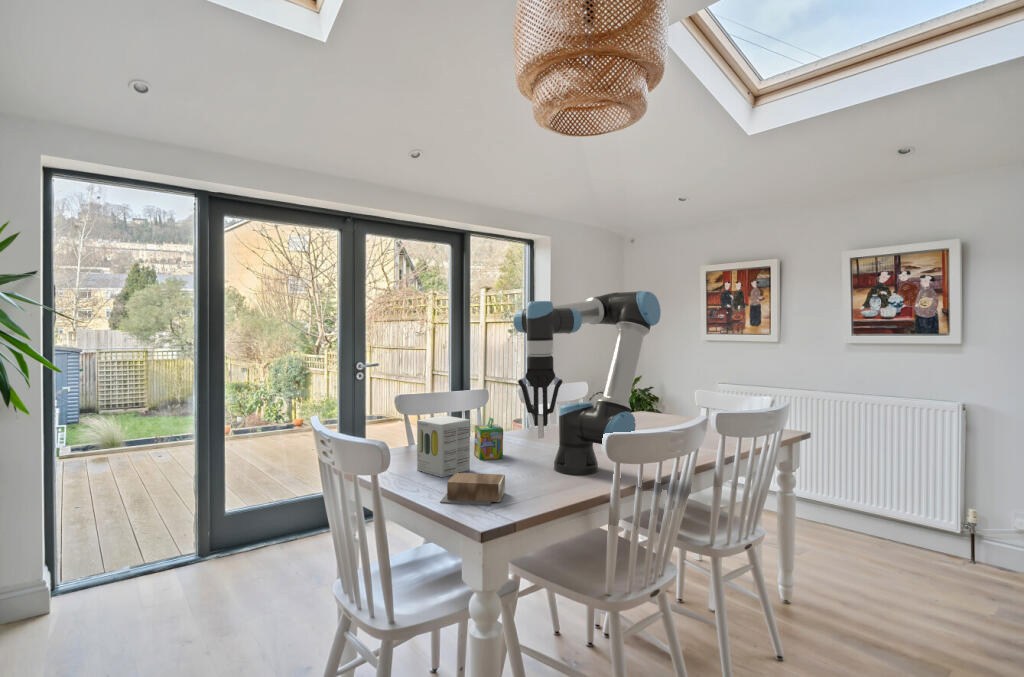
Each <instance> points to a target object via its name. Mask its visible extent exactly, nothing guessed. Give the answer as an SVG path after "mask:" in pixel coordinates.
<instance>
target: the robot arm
mask: <svg viewBox="0 0 1024 677" xmlns="http://www.w3.org/2000/svg"><path fill="white" fill-rule="evenodd" d="M660 319H661V304H660V302H659V299H658V298H657V296H656V295H655V294H654V293H653V292H651V291H642V290H638V291H627V292H626V291H625V292H624V291H623V292H610V293H606V294H602V295H598V296H594V297H589V298H587V299H585V300H584V301H578V302H570V303H565V304H557V305H553V302H552V301H550V300H538V301H537V300H533V301H529V302H528V303H527V304H526V308H524V309H519V310H517V311H516V312H515V313H514V315H513V318H512V321H513V322H512V323H513V327H514V329H515V330H516V331H517V332H518V333H524V334H526V354H527V357H526V373H525V376H523V377H522V378H520V379H519V380H517V383H518V384H519V387H520V389H521V391H522V395H523V400H524V403H525V406H526V409H527V413H529V414H532V415H533V425H534V427H537V439H544V438H545V427H548V423H549V421H548V420H549V418H548V417H549V416H548V415H549V414H552V413H554V410H555V408H556V401H557V397H558V395H559V394H558V393H559V390H560V387H561V385H562V384H563V378H559V377H557V375H556V373H555V371H554V356H553V354H554V335H555V334H567V335H568V334H573V333H576V332H578V331H579V330H580V329H581V327H582V325H583V324H590V325H593V326H594V325H612V326H615V328H616V329H617V331H618V332H617V336H616V340H615V345H614V348H613V353H612V357H611V361H610V365H609V370H608V374H607V376H606V382H605V386H604V391H603V393H602V394H603V395H602V397H601V398H599V399H597V400H596V404H595V406H594V402H592V401H591V402H590V401H584V402H582V401H580V402H570V403H564V404H562V405H560V407H559V415H558V427H559V428H558V435H559V438H558V440H559V441H558V442H559V444H558V449H557V453H556V456H555V458H554V462H553V469H554V470H555V471H556V472H559V473H562V474H566V475H577V476H579V475H580V476H581V475H590V474H595V473H597V472H598V470H599V463H598V460H597V457H596V452H595V450H594V444H598V445H603V444H602V438H603V434H605V433H613V432H631V431H635V432H636V426H637V425H636V419H635V416H634V414H632V408H631V406H630V404H629V402H630V396H631V393H632V387H633V384H634V380H635V376H636V371H637V366H638V363H639V359H640V358H639V357H640V355H641V349H642V345H643V341H644V337H645V336H647V335H649V333H650V330H651V327H652V326H655V325H657V324H658V323H659V322H660ZM553 381H554V382H553ZM528 383H529V384H530V386H531V387H532V390H533V406H532V401H531V398H530V394H529V391H528V387H527V384H528ZM552 383H553V384H554V385H555V386H554V389H553V393H552V398H551V402H550V406H549V408H548V402H549V401H548V387H550V385H551V384H552ZM540 388H541V390H542V413H539V412H540V411H539V403H540V402H539V401H540V400H539V398H540V397H539V389H540Z"/></svg>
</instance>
